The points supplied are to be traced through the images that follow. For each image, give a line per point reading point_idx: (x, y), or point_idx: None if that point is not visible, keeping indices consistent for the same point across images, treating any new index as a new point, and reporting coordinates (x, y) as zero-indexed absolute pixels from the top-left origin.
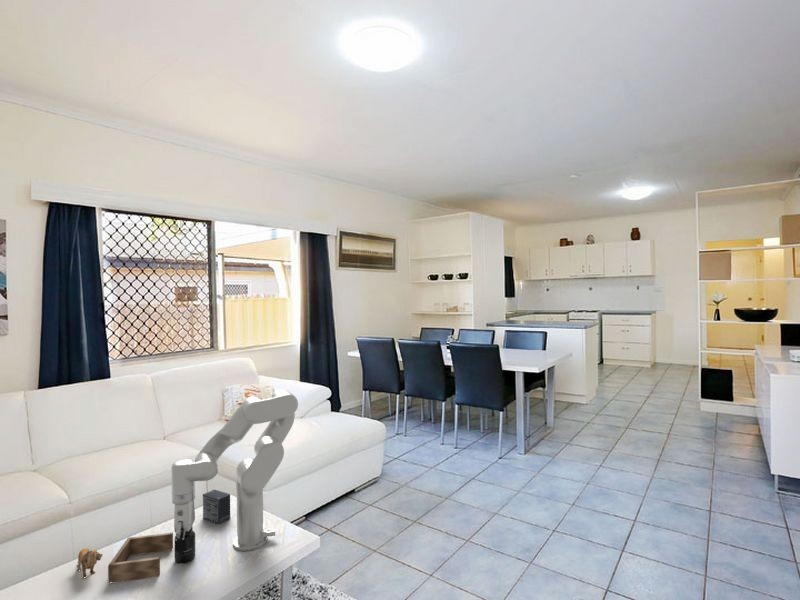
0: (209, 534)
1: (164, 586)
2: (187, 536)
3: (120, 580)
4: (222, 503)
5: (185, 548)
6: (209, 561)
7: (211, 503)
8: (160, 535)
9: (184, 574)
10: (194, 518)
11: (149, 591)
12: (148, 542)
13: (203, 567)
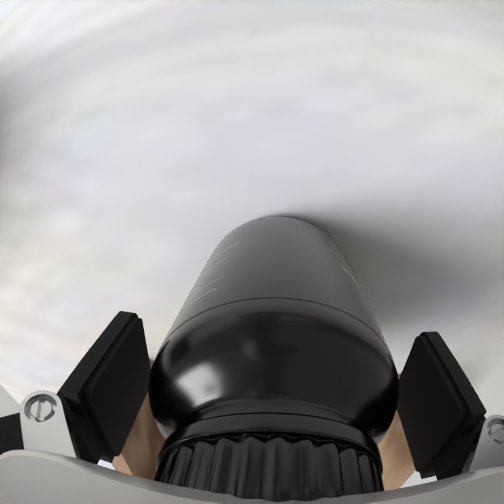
0: (14, 174)
1: (492, 328)
2: (383, 409)
3: None
4: None
5: (441, 340)
6: (373, 101)
7: None
8: (128, 467)
9: (456, 255)
10: (43, 494)
11: (484, 371)
12: (150, 470)
13: (434, 142)
